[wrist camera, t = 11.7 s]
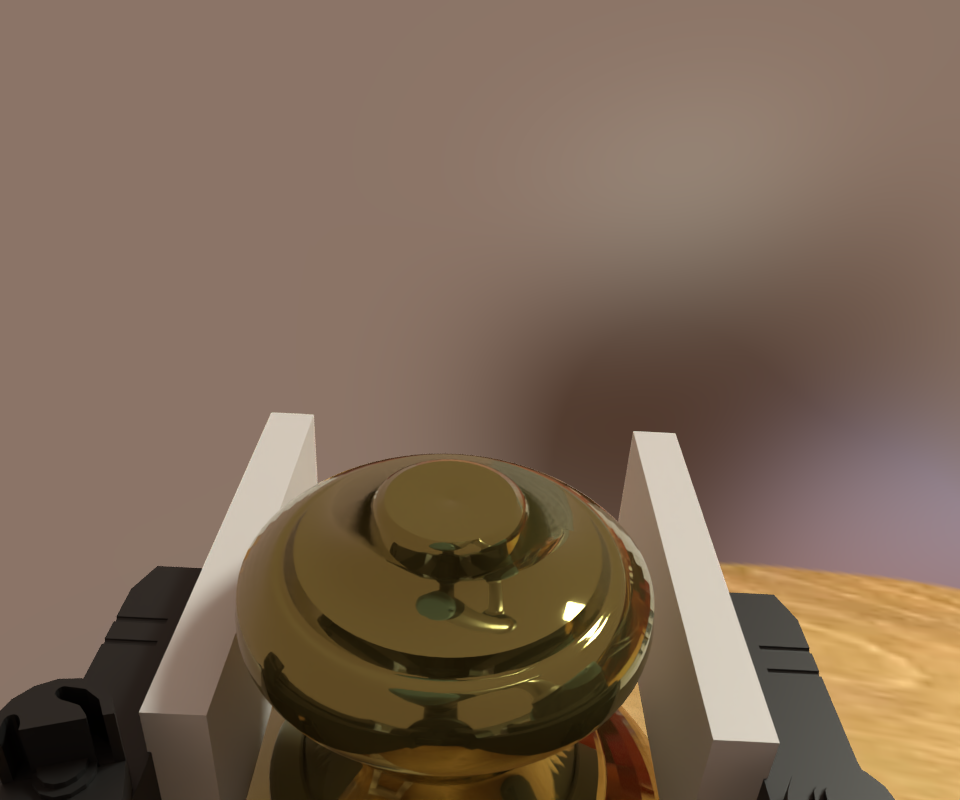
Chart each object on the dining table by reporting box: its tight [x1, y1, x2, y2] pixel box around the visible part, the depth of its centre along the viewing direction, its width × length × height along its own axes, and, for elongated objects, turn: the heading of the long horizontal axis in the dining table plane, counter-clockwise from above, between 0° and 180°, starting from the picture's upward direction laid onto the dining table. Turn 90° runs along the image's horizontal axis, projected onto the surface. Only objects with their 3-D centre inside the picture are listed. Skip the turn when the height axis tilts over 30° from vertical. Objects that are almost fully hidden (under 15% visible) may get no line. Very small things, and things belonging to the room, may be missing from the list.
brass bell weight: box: [235, 454, 659, 800], centre depth 12 cm, size 7×7×10 cm
